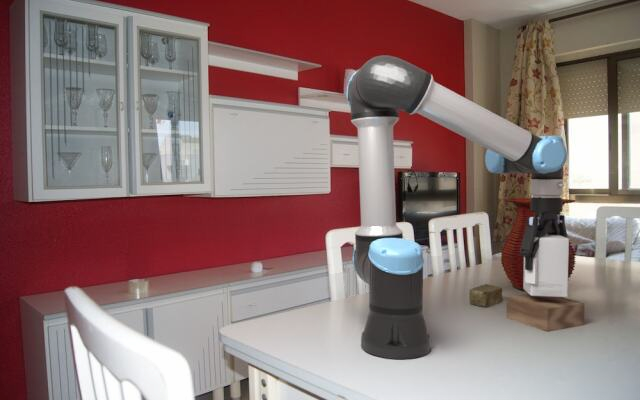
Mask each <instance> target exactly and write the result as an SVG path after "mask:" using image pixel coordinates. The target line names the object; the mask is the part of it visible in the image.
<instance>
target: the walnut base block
mask: <svg viewBox="0 0 640 400" xmlns="http://www.w3.org/2000/svg"><path fill="white" fill-rule="evenodd" d="M506 319H507V320H510V321H513V322H516V323H519V324H523V325H525V326H529V327H531V328H534V329H537V330H540V331H543V332H546V333H550V332H554V331H559V330H565V329H570V328H577V327H581V326H585V302H582V301H578V300H574V299H570V298H568V297H550V296H531V295H530V294H529V293H527V294H519V295H518V294H517V295H513V296H511V295H510V296H506Z"/></svg>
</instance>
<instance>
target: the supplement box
mask: <svg viewBox="0 0 640 400" xmlns="http://www.w3.org/2000/svg"><path fill="white" fill-rule="evenodd" d="M536 240H538V237H535V240H534V242H535V241H536ZM569 240H570V237H568V238H566V237H563V236H560V235H548V234H546V235H545V236H543V237H541V238H540V239H539V248H538V250H537V253H536V255H535V258H537V284H532V283H527V282H525V257H524V279H523V289H524V290H523V291H525V292H526V293H527V294H530V295H531V296H550V297H563V298H568V297H569V296H568V292H569V291H568V289H569V286H568V285H569V281H568V257H569V242H570V241H569ZM531 253H532V252H531Z"/></svg>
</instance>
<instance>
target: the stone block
mask: <svg viewBox="0 0 640 400" xmlns="http://www.w3.org/2000/svg"><path fill="white" fill-rule="evenodd" d="M468 293H469V296H468V297H469V304H470V305H472V306H477V307H479V308H480V307H481V308H488V307H491V306H493V305H496V304H498V303H501V302H503V287H502V286H498V285H493V284H488V283H485V284H481V285H478V286H476V287H473V288H471V289H469V291H468Z"/></svg>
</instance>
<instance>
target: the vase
mask: <svg viewBox="0 0 640 400" xmlns="http://www.w3.org/2000/svg"><path fill="white" fill-rule="evenodd" d="M531 198H532V197H529V198H528V197H527V198H525V197H524V198H523V197H522V198H521V197H520V198H519V197H518V198H515V197H514V198H513V197H512V198H503V199H502V200H503V201H505V202H507V203H512V204H514V205H515V206H516V209H515V210H516V213H515V219H514V223H513V224H512V225H511V226H512V227H511V229H510V230H509V233H508V235H507V236H506V238H505V240H504V243H503V245H502V247H501V250H500V257H501V258H500V262H501V267H502V268H503V271H504V274H505V275H506V277H507V279H508V281H510V283H511V284H512V285H513V286H512V287H514V288H516V289H518V290H521V291H525V290H524V289H523V279H524V257H523V256H521V255H520V254H519V251H520V248H521V244H522V240H523V236H524V233H525V229H526V222H527V217H535V212H532V211H531V210H530V205H531ZM562 199H563V206H564V205H565V204H572V203H575V202H576V200H575V199H565V198H562ZM557 215H561V212H559V213H557ZM547 234H548V233H547ZM570 241H571V240H570V239H569V246H570V248H569V257H568V282H569V281H570V279H569V278H571V275H573V271H575V268H576V266H575V265H576V263H577V262H576V257H577V256H576V255H577V254H576V252H575V249H574V248H573V246H572V242H570Z"/></svg>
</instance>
